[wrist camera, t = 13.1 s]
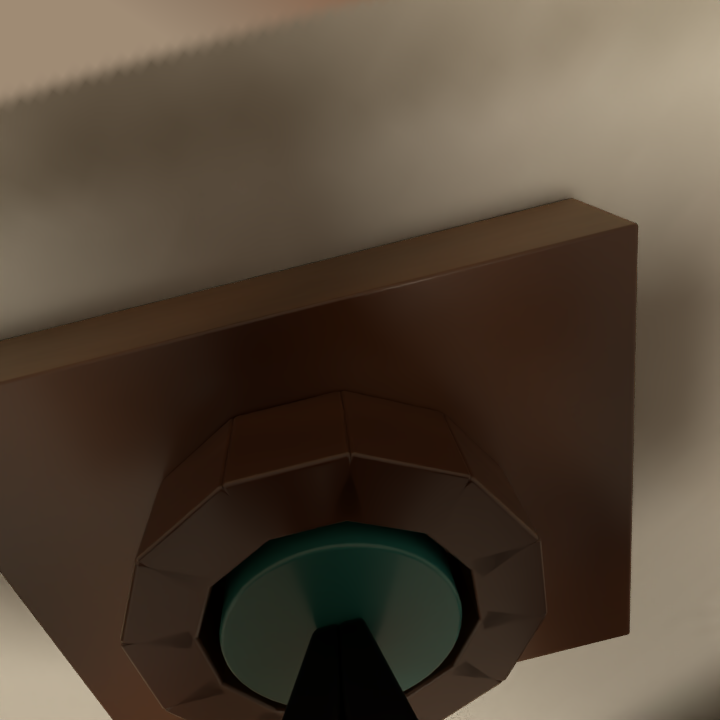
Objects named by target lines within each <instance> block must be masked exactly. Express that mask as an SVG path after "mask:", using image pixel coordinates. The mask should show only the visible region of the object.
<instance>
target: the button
mask: <svg viewBox="0 0 720 720" xmlns="http://www.w3.org/2000/svg"><path fill="white" fill-rule="evenodd" d="M357 618H362V619H364V621H365V622H366V624H367V626H368V628H369V629H370V631H371V633H372V635H373V637H374V639H375V641H376V642H377V644H378V646H379V648H380V650H381V652H382V653H383V655H384V657H385V659H386V661H387V663H388V665H389V666H390V668H391V670H392V672H393V674H394V676H395V677H396V679H397V681H398V683H399V685H400V687H401V689H402V690H403V691H405V690H407V689H409V688H411V687H412V686H414V685H416V684H417V683H419V682H420V681H422V680H423V679H424V678H426V677H427V676H429V675H430V674H431V673H432V672H433V671H434V670H435V669H436V668H438V667H439V666H440V664H441V663H442V662H443V661H444V660H445V659H446V658H447V656H448V655H449V653H450V652H451V650H452V649H453V647H454V645H455V643H456V641H457V638H458V636H459V632H460V628H461V622H462V605H461V600H460V597H459V594H458V591H457V588H456V584H455V581H454V578H453V575H452V572H451V569H450V566H449V563H448V560H447V557H446V554H445V551H444V548H443V547H441V546H440V545H439V544H438V543H436V542H435V541H434V540H433V539H431V538H430V537H429V536H428V535H426V534H425V533H418V532H412V531H406V530H400V529H393V528H387V527H381V526H375V525H369V524H362V523H356V522H350V521H345V522H341V523H337V524H333V525H329V526H325V527H321V528H317V529H313V530H309V531H305V532H301V533H297V534H293V535H289V536H285V537H281V538H277V539H273V540H269V541H268V542H266V543H265V544H264V545H263V546H261V547H260V548H259V549H258V550H256V551H255V552H254V553H253V554H252V555H250V556H249V557H248V558H247V559H245V560H244V561H243V562H242V563H240V564H239V565H238V566H237V567H235V568H234V569H233V570H232V571H231V572H229V573H228V574H227V577H226V584H225V592H224V599H223V607H222V615H221V622H220V630H219V635H220V646H221V650H222V654H223V656H224V659H225V661H226V663H227V665H228V667H229V668H230V670H231V671H232V673H233V674H234V675H235V676H236V677H237V678H238V679H239V680H240V681H241V682H242V683H243V684H244V685H245V686H247V687H248V688H249V689H251V690H252V691H254V692H256V693H258V694H259V695H261V696H263V697H266V698H268V699H270V700H272V701H276V702H279V703H282V704H285V705H287V704H288V701H289V698H290V695H291V692H292V690H293V687H294V684H295V681H296V678H297V675H298V673H299V670H300V667H301V664H302V661H303V659H304V656H305V653H306V650H307V647H308V644H309V642H310V639H311V636H312V634H313V632H314V631H315V630H316V629H318V628H322V627H325V626H329V625H333V624H336V625H338V626H339V627H340V624H341V623H343V622H345V621H349V620H353V619H357Z"/></svg>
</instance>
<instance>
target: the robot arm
mask: <svg viewBox="0 0 720 720" xmlns="http://www.w3.org/2000/svg"><path fill="white" fill-rule="evenodd" d="M282 720H418V718H417V716H416V714H415V713H414V711H413V709H412V707H411V705H410V703H409V701H408V700H407V698H406V696H405V694H404V692H403V690H402V689H401V687H400V685H399V683H398V681H397V679H396V677H395V676H394V674H393V672H392V670H391V668H390V666H389V665H388V663H387V661H386V659H385V657H384V655H383V653H382V652H381V650H380V648H379V646H378V644H377V642H376V641H375V639H374V637H373V635H372V633H371V631H370V629H369V628H368V626H367V624H366V622H365V621H364V619H362V618H357V619H353V620H349V621H345V622H343V623H341V624H340V627H339V626H338V625H336V624H333V625H329V626H325V627H322V628H318V629H316V630H315V631H314V632H313V634H312V636H311V639H310V642H309V644H308V647H307V650H306V653H305V656H304V659H303V661H302V664H301V667H300V670H299V673H298V675H297V678H296V681H295V684H294V687H293V690H292V692H291V695H290V698H289V701H288V704H287V706H286V709H285V712H284V715H283V718H282Z"/></svg>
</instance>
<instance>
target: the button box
mask: <svg viewBox="0 0 720 720" xmlns="http://www.w3.org/2000/svg"><path fill="white" fill-rule="evenodd" d="M637 255H638V225H637V224H636V223H634V222H631V221H629V220H626V219H624V218H621V217H619V216H616V215H614V214H611V213H609V212H606V211H604V210H601V209H599V208H596V207H594V206H591V205H589V204H586V203H584V202H582V201H579V200H577V199H574V198H571V199H567V200H563V201H559V202H555V203H551V204H547V205H543V206H539V207H535V208H531V209H527V210H523V211H519V212H515V213H511V214H507V215H503V216H499V217H495V218H491V219H487V220H483V221H479V222H475V223H471V224H467V225H463V226H459V227H455V228H451V229H447V230H443V231H439V232H435V233H431V234H427V235H423V236H419V237H415V238H411V239H407V240H403V241H399V242H394V243H390V244H386V245H382V246H378V247H374V248H370V249H366V250H362V251H358V252H354V253H350V254H346V255H342V256H338V257H334V258H330V259H326V260H322V261H318V262H314V263H310V264H306V265H302V266H298V267H294V268H290V269H286V270H282V271H278V272H274V273H270V274H266V275H262V276H258V277H254V278H250V279H246V280H242V281H238V282H234V283H230V284H226V285H222V286H218V287H214V288H210V289H206V290H202V291H198V292H194V293H190V294H186V295H182V296H178V297H174V298H170V299H166V300H162V301H158V302H154V303H150V304H146V305H142V306H138V307H134V308H130V309H126V310H122V311H118V312H114V313H110V314H106V315H102V316H98V317H94V318H90V319H86V320H82V321H78V322H74V323H70V324H66V325H62V326H58V327H54V328H50V329H46V330H42V331H38V332H34V333H30V334H26V335H22V336H18V337H14V338H10V339H6V340H2V341H0V572H1V574H2V575H3V576H4V578H5V579H6V580H7V581H8V583H9V584H10V585H11V587H12V588H13V589H14V591H15V592H16V593H17V595H18V596H19V597H20V599H21V600H22V601H23V603H24V604H25V605H26V606H27V608H28V609H29V610H30V612H31V613H32V614H33V616H34V617H35V618H36V620H37V621H38V622H39V624H40V625H41V626H42V627H43V629H44V630H45V631H46V633H47V634H48V635H49V637H50V638H51V639H52V641H53V642H54V643H55V645H56V646H57V647H58V649H59V650H60V651H61V652H62V654H63V655H64V656H65V658H66V659H67V660H68V662H69V663H70V664H71V666H72V667H73V668H74V670H75V671H76V672H77V673H78V675H79V676H80V677H81V679H82V680H83V681H84V683H85V684H86V685H87V687H88V688H89V689H90V691H91V692H92V693H93V695H94V696H95V697H96V698H97V700H98V701H99V702H100V704H101V705H102V706H103V708H104V709H105V710H106V712H107V713H108V714H109V716H110V717H111V718H112V719H113V720H282V718H283V715H284V712H285V709H286V706H287V705H285V704H282V703H279V702H276V701H272V700H270V699H268V698H266V697H263V696H261V695H259V694H258V693H256V692H254V691H252V690H251V689H249V688H248V687H247V686H245V685H244V684H243V683H242V682H241V681H240V680H239V679H238V678H237V677H236V676H235V675H234V674H233V673H232V671H231V670H230V668H229V667H228V665H227V663H226V661H225V659H224V656H223V654H222V650H221V646H220V635H219V630H220V622H221V615H222V607H223V599H224V592H225V584H226V577H227V574H228V573H229V572H231V571H232V570H233V569H234V568H235V567H237V566H238V565H239V564H240V563H242V562H243V561H244V560H245V559H247V558H248V557H249V556H250V555H252V554H253V553H254V552H255V551H256V550H258V549H259V548H260V547H261V546H263V545H264V544H265V543H266V542H268V541H269V540H273V539H277V538H281V537H285V536H289V535H293V534H297V533H301V532H305V531H309V530H313V529H317V528H321V527H325V526H329V525H333V524H337V523H341V522H345V521H350V522H356V523H362V524H369V525H375V526H381V527H387V528H393V529H400V530H406V531H412V532H418V533H425V534H426V535H428V536H429V537H430V538H431V539H433V540H434V541H435V542H436V543H438V544H439V545H440V546H441V547H443V548H444V551H445V554H446V557H447V560H448V563H449V566H450V569H451V572H452V575H453V578H454V581H455V584H456V588H457V591H458V594H459V597H460V600H461V605H462V622H461V628H460V632H459V636H458V638H457V641H456V643H455V645H454V647H453V649H452V650H451V652H450V653H449V655H448V656H447V658H446V659H445V660H444V661H443V662H442V663H441V664H440V666H439V667H438V668H436V669H435V670H434V671H433V672H432V673H431V674H430V675H429V676H427V677H426V678H424V679H423V680H422V681H420V682H419V683H417V684H416V685H414V686H412V687H411V688H409V689H407V690H405V691H403V692H404V694H405V696H406V698H407V700H408V701H409V703H410V705H411V707H412V709H413V711H414V713H415V714H416V716H417V718H418V720H443V719H445V718H447V717H448V716H450V715H451V714H453V713H454V712H456V711H458V710H459V709H461V708H462V707H464V706H465V705H467V704H469V703H470V702H472V701H473V700H475V699H476V698H478V697H480V696H481V695H483V694H484V693H486V692H487V691H489V690H491V689H492V688H494V687H495V686H497V685H499V684H500V683H501V682H502V681H503V680H505V679H506V678H507V676H508V675H509V673H510V672H511V670H512V669H513V667H514V665H515V664H516V662H519V661H523V660H527V659H531V658H535V657H539V656H543V655H547V654H551V653H555V652H559V651H563V650H567V649H571V648H575V647H579V646H583V645H587V644H591V643H595V642H599V641H603V640H607V639H611V638H615V637H619V636H623V635H627V634H629V633H630V589H631V541H632V494H633V446H634V398H635V350H636V303H637Z"/></svg>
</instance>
